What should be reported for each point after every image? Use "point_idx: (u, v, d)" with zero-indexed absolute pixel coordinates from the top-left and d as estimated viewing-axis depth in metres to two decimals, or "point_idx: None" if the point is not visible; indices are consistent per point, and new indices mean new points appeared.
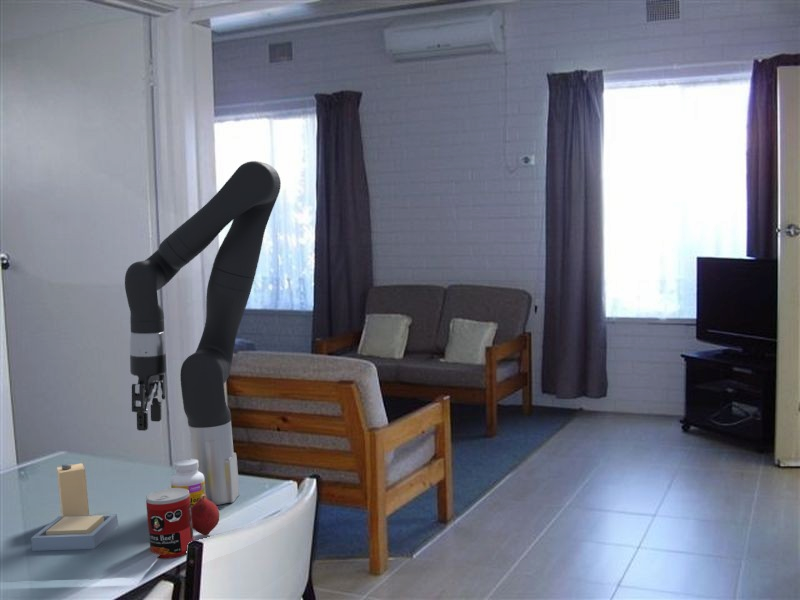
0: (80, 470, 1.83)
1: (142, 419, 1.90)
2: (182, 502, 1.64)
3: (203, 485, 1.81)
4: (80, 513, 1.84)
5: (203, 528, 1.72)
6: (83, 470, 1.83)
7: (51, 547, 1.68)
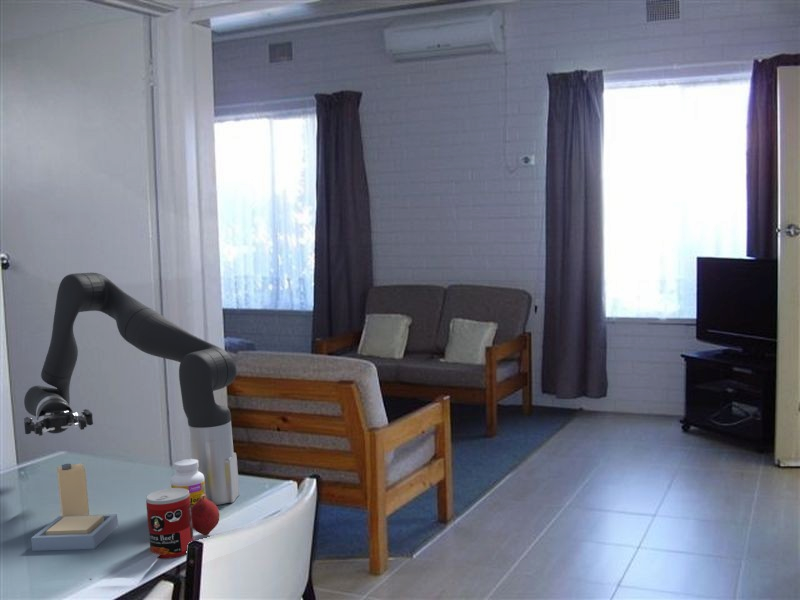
0: (80, 470, 1.83)
1: (34, 427, 1.94)
2: (182, 502, 1.64)
3: (203, 485, 1.81)
4: (80, 513, 1.84)
5: (203, 528, 1.72)
6: (83, 470, 1.83)
7: (51, 547, 1.68)
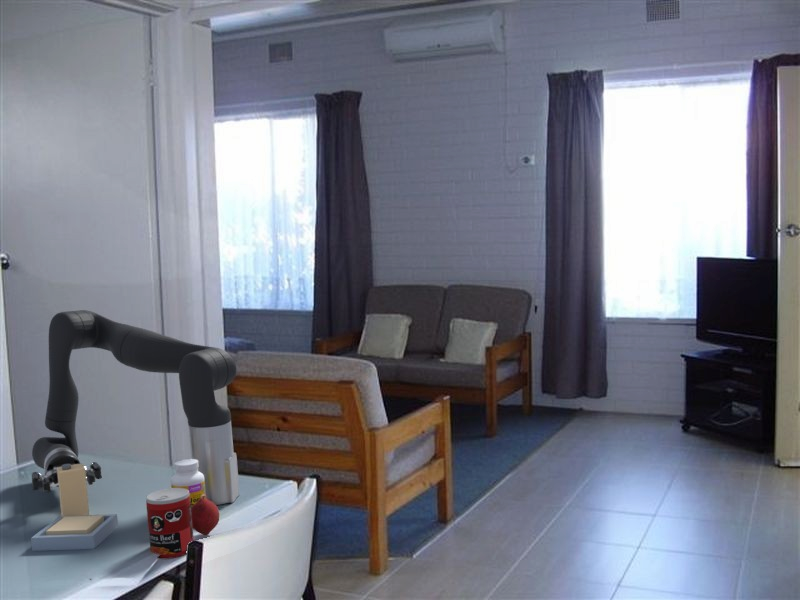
0: (80, 470, 1.83)
1: (42, 483, 1.91)
2: (182, 502, 1.64)
3: (203, 485, 1.81)
4: (80, 513, 1.84)
5: (203, 528, 1.72)
6: (83, 470, 1.83)
7: (51, 547, 1.68)
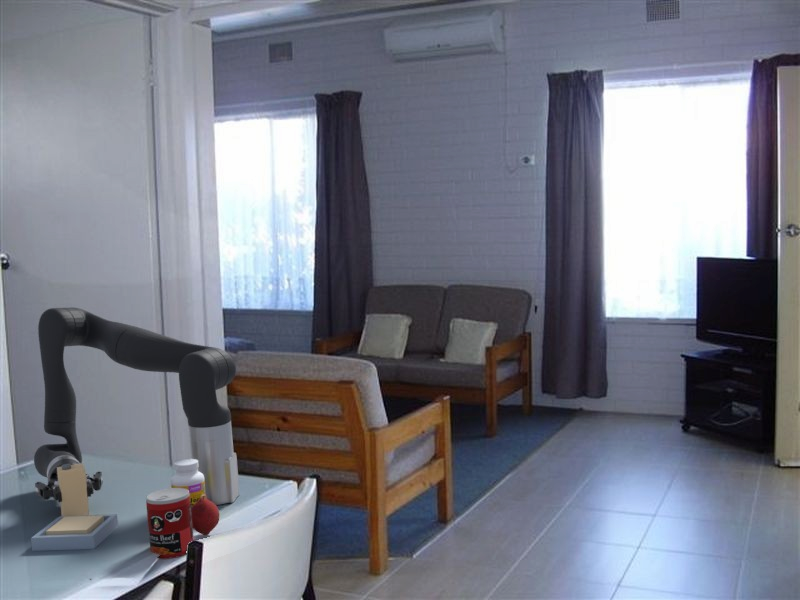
0: (80, 470, 1.83)
1: (53, 493, 1.83)
2: (182, 502, 1.64)
3: (203, 485, 1.81)
4: (80, 513, 1.84)
5: (203, 528, 1.72)
6: (83, 470, 1.83)
7: (51, 547, 1.68)
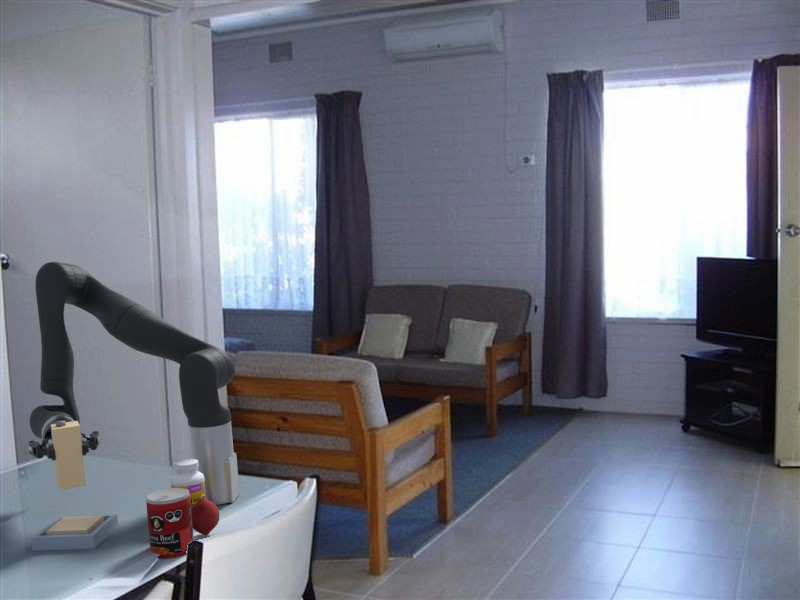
0: (75, 427, 1.74)
1: (46, 451, 1.74)
2: (182, 502, 1.64)
3: (203, 485, 1.81)
4: (75, 472, 1.74)
5: (203, 528, 1.72)
6: (78, 427, 1.74)
7: (51, 547, 1.68)
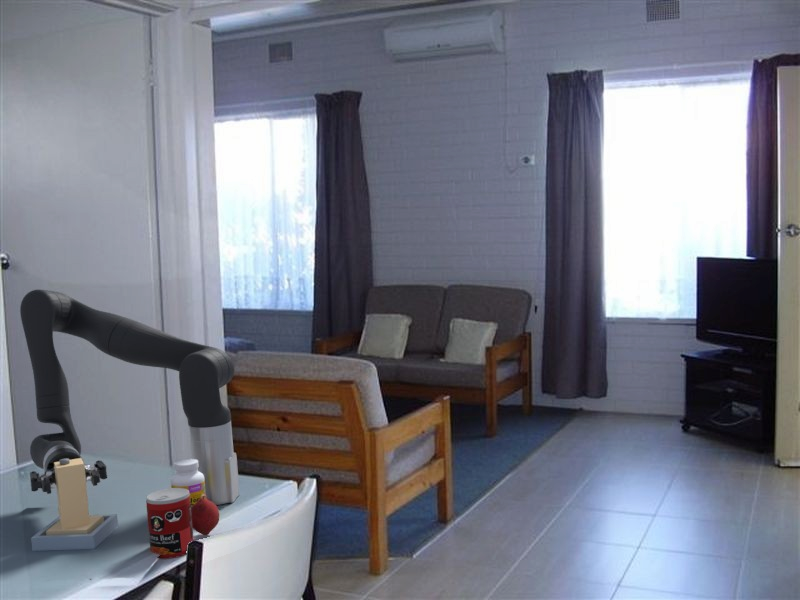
0: (79, 465, 1.71)
1: (41, 484, 1.72)
2: (182, 502, 1.64)
3: (203, 485, 1.81)
4: (79, 511, 1.72)
5: (203, 528, 1.72)
6: (82, 465, 1.72)
7: (51, 547, 1.68)
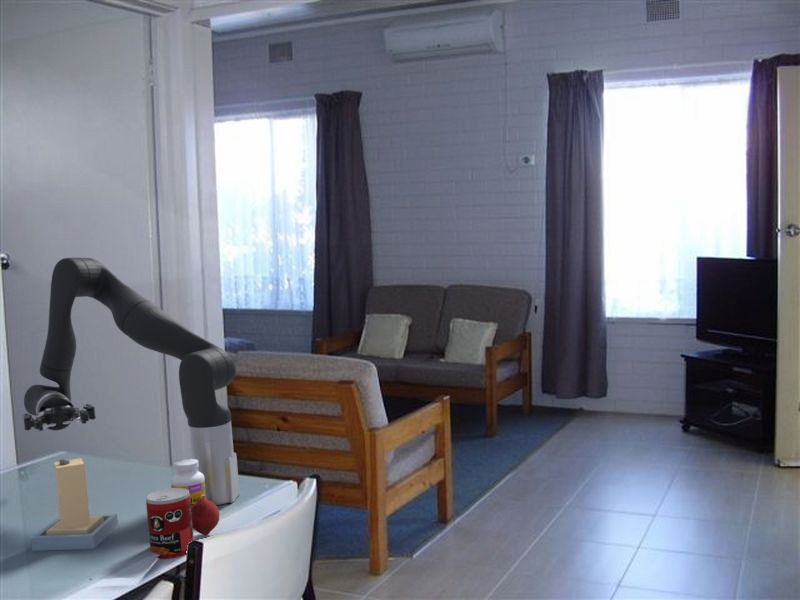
0: (79, 465, 1.71)
1: (34, 422, 1.86)
2: (182, 502, 1.64)
3: (203, 485, 1.81)
4: (79, 511, 1.72)
5: (203, 528, 1.72)
6: (82, 465, 1.72)
7: (51, 547, 1.68)
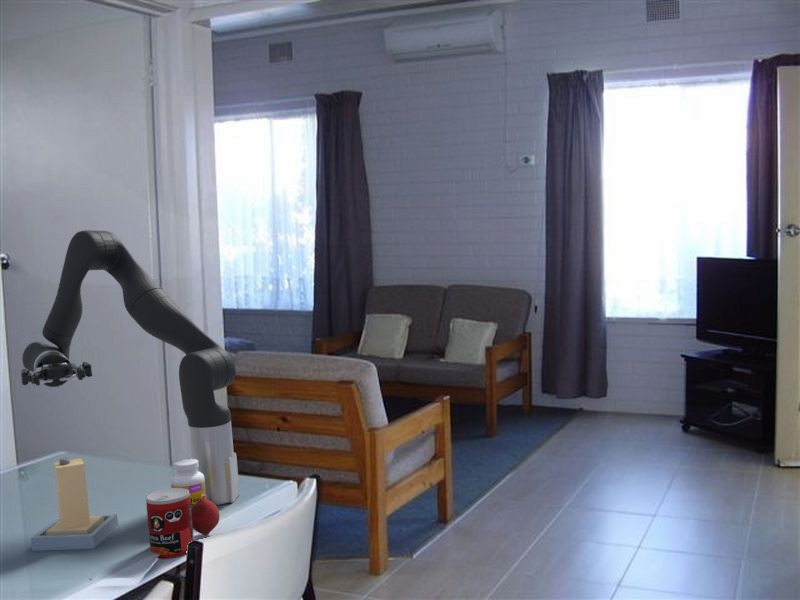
0: (79, 465, 1.71)
1: (31, 377, 1.88)
2: (182, 502, 1.64)
3: (203, 485, 1.81)
4: (79, 511, 1.72)
5: (203, 528, 1.72)
6: (82, 465, 1.72)
7: (51, 547, 1.68)
